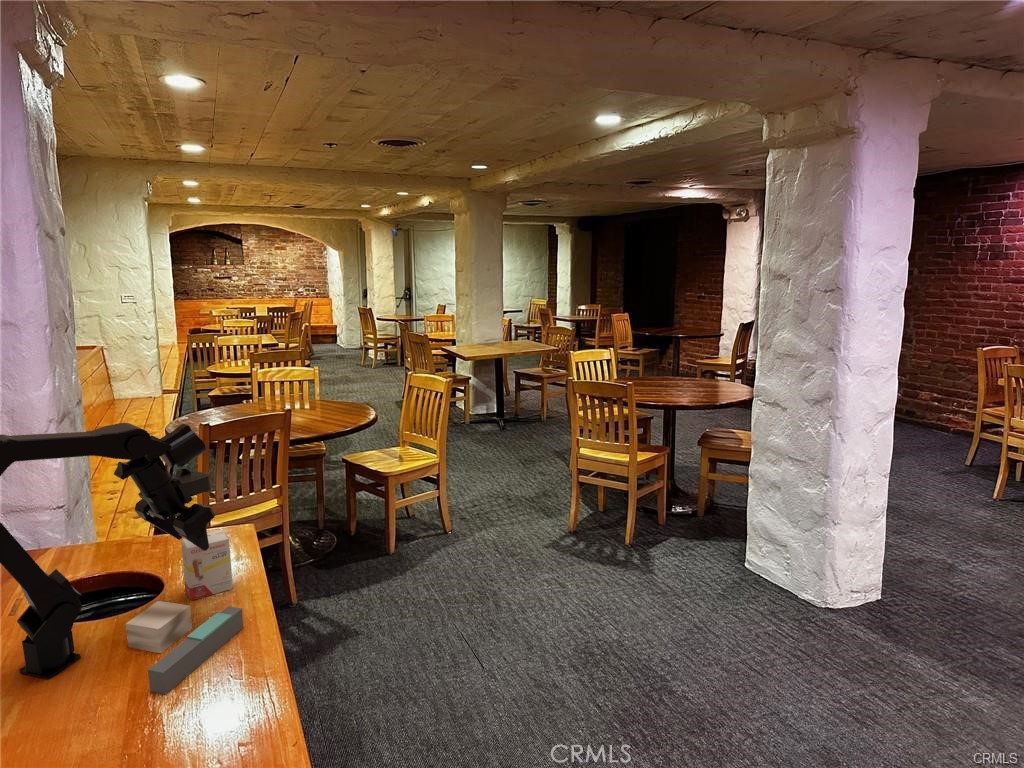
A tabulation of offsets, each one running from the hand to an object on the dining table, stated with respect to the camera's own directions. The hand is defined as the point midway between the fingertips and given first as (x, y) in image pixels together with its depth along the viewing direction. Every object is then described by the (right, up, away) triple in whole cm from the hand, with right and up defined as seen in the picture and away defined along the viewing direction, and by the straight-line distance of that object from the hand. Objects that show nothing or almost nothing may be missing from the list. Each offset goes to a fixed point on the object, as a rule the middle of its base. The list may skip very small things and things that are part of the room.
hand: (193, 543), depth 132 cm
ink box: (-1, -12, +9) cm, 15 cm away
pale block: (-2, -16, -8) cm, 18 cm away
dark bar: (+8, -17, -14) cm, 23 cm away
